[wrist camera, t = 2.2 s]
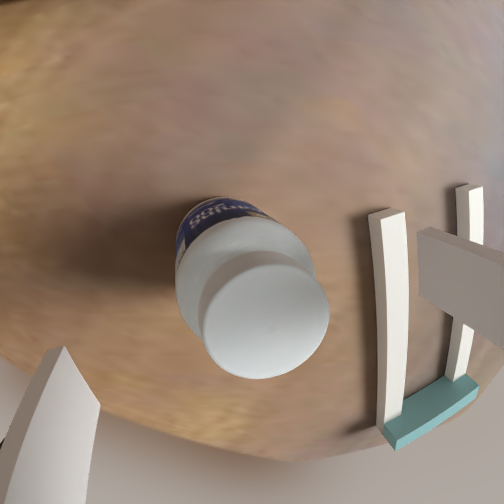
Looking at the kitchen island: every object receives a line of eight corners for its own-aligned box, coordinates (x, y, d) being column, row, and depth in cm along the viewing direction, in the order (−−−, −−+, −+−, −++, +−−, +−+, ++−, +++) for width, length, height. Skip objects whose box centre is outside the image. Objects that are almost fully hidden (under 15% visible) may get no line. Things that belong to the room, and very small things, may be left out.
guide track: (367, 214, 20) (405, 228, 16) (469, 183, 22) (505, 191, 18) (376, 425, 27) (395, 451, 24) (454, 379, 29) (475, 397, 25)
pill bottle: (271, 196, 18) (363, 239, 9) (264, 284, 20) (334, 384, 11) (175, 194, 17) (174, 238, 8) (175, 286, 19) (181, 401, 9)
